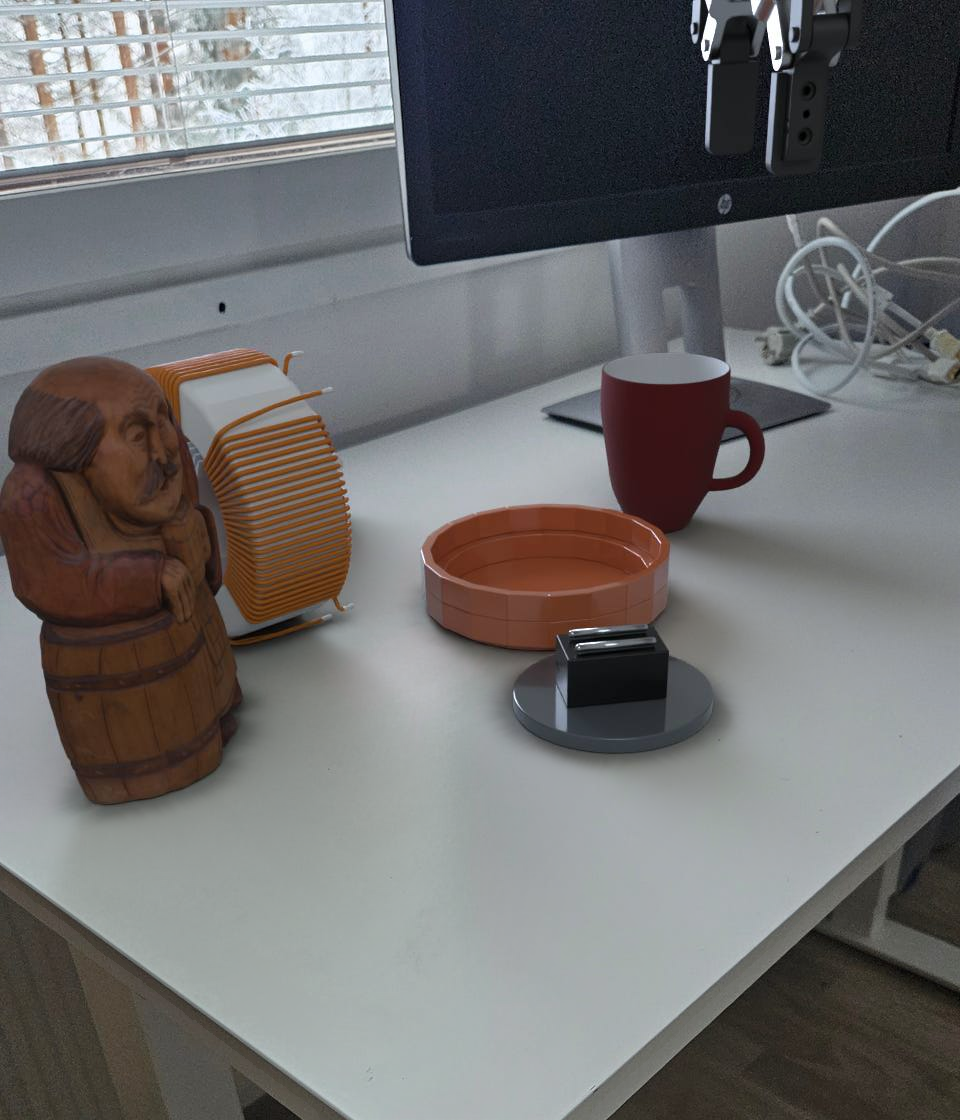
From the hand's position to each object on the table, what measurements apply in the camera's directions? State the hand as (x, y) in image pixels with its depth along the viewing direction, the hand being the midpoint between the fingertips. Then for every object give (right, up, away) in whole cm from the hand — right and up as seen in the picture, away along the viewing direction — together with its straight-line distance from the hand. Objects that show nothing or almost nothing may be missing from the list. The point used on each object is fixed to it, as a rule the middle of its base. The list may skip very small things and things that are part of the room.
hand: (758, 163), depth 56 cm
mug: (+1, -9, +27) cm, 29 cm away
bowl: (-9, -16, +17) cm, 25 cm away
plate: (-6, -24, +6) cm, 25 cm away
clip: (-6, -23, +6) cm, 25 cm away
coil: (-26, -18, +16) cm, 35 cm away
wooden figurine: (-28, -26, +4) cm, 38 cm away
